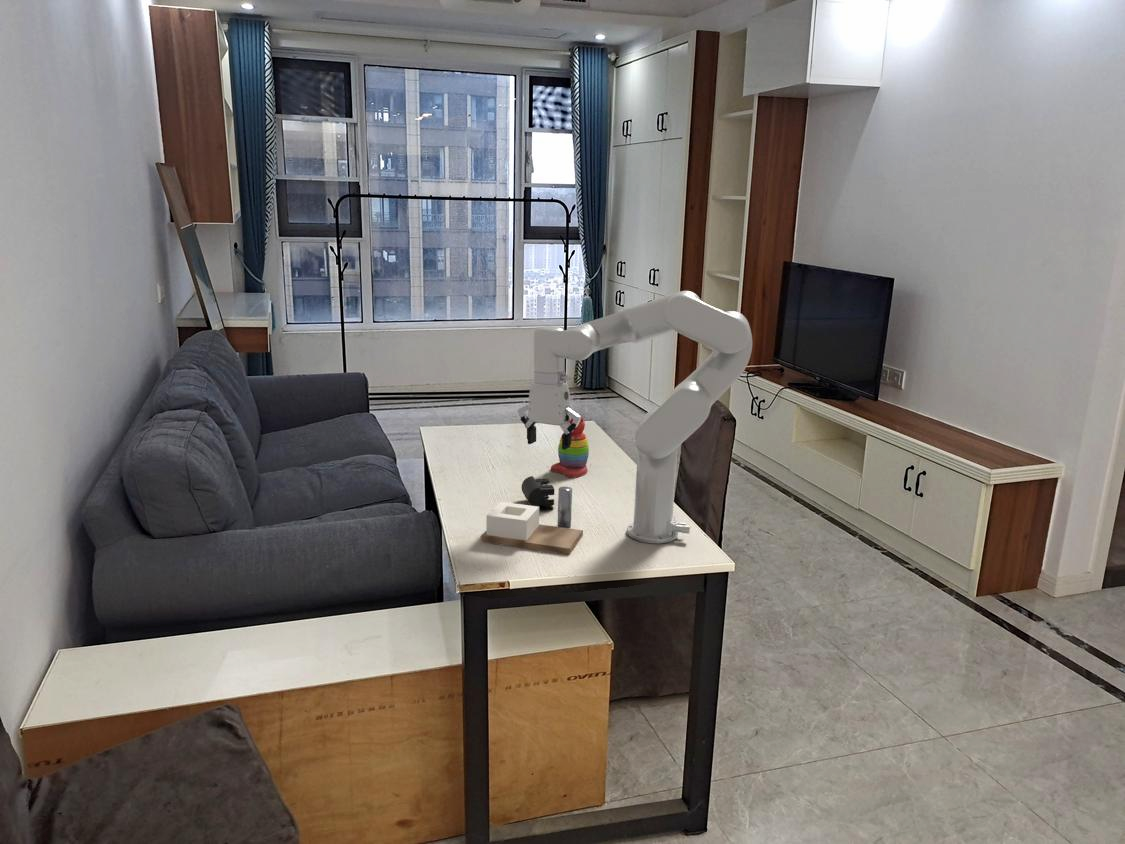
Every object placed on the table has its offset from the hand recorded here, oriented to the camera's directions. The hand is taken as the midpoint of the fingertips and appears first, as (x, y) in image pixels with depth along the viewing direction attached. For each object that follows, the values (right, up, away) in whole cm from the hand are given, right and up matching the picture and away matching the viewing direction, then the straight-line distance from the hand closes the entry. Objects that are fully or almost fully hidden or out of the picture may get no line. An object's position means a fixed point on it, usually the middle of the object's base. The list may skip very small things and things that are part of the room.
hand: (548, 445), depth 206 cm
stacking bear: (+6, -9, +48) cm, 49 cm away
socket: (-9, -20, -4) cm, 23 cm away
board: (-4, -22, -5) cm, 23 cm away
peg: (+4, -20, +3) cm, 21 cm away
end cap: (-3, -17, +18) cm, 25 cm away
